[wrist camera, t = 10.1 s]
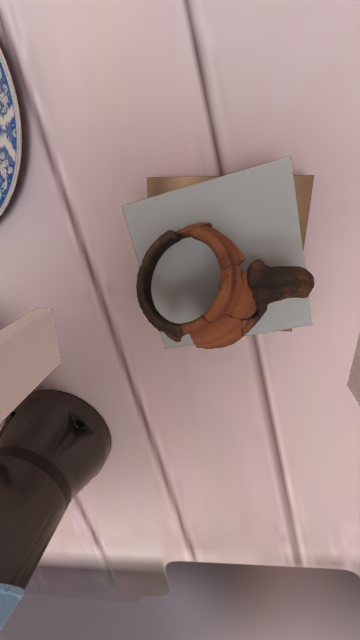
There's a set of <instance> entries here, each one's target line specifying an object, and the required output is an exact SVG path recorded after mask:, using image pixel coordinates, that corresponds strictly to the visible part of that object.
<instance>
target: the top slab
mask: <svg viewBox="0 0 360 640" xmlns="http://www.w3.org/2000/svg"><path fill="white" fill-rule="evenodd" d="M121 207H122V210H123V213H124V216H125V220H126V223H127V226H128V229H129V233H130V236H131V239H132V242H133V246H134V249H135V252H136V255H137V259H138V262H139V265H140V266H141V265H142V260H143V258H144V255H145V253H146V251H147V250H148V249H149V247H150V246H151V245H152V244H153V243H154V242H155V241H156V240H157V238H158V237H160V236H161V235H162V234H164V233H165V232H166V231H168V230H173V231H175V232H176V231H178V230H180V229H183V228H184V227H186V226H189V225H192V224H195V223H201V222H205V223H211V225H212V227H213V228H214V229H216V230H218V231H219V232H221V233H222V234H223V235H225V236H226V237H227V238H229V239H230V240H231V241H232V242H233V243H234V244H235V246H236V247H238V249H239V250H240V251H241V252H242V254H243V255H244V256H245V258H246V260H245V261H244V262H243V263H241V264H240V267H241V269H242V271H244V272H245V274H246V275H247V269H248V267H249V265H250V264H251V263H252V262H254V261H255V260H257V259H260V260H262V261H263V262H264V263H265V264H266V265H267V266H299V267H303V268H305V264H304V256H303V248H302V240H301V233H300V225H299V217H298V209H297V201H296V193H295V185H294V177H293V169H292V161H291V156H289V157H286V158H282V159H279V160H276V161H272V162H269V163H265V164H262V165H259V166H255V167H252V168H248V169H245V170H242V171H238V172H235V173H232V174H228V175H225V176H221V177H218V178H215V179H211V180H208V181H204V182H201V183H198V184H194V185H191V186H188V187H184V188H181V189H177V190H174V191H171V192H167V193H164V194H160V195H157V196H154V197H150V198H147V199H144V200H140V201H137V202H133V203H130V204H127V205H123V206H121ZM220 275H221V269H220V266H219V263H218V260H217V258H216V256H215V254H214V252H213V251H212V250H211V248H210V247H209V246H208V245H206V244H205V243H203V242H201V241H198V240H195V239H193V238H192V237H189V238H184V239H182V240H180V241H179V242H177V243H175V244H174V245H172V246H171V247H170V248H168V249H167V250H166V251H165V252H164V254H163V255H162V256H161V258H160V259H159V261H158V263H157V265H156V268H155V270H154V273H153V277H152V282H151V293H152V298H153V302H154V305H155V307H156V309H157V310H158V312H159V313H160V314H161V315H162V316H163V317H164V318H165V319H167V320H169V321H171V322H173V323H181V324H182V323H186V322H191V321H193V320H195V319H197V318H198V317H200V316H202V315H203V314H204V313H205V312H206V311H207V310H208V309H209V308H210V306H211V305H212V303H213V301H214V300H215V297H216V295H217V293H218V290H219V285H220V279H221V276H220ZM308 325H312V320H311V312H310V304H309V296H308V297H307V298H287V299H283V300H281V301H276V302H273V303H269V304H268V306H267V311H266V312H265V313H264V315H263V316H262V317H261V319H260V320H259V321H258V322H257V324H256V325H255V326H254V327H253V328H252V329H251V330H250V331H249V332H248V333H247V334H246V335H244V336H247V335H253V334H259V333H266V332H272V331H278V330H284V329H290V328H296V327H302V326H308ZM160 333H161V336H162V339H163V343H164V346H165V349H168V348H174V347H180V346H187V345H193V344H194V343H193V340H192V339H191V336H190V334H186V335H184V336H183V337H182V338H181V341H180V342H175V341H173V340H171V339H170V338H168V337H167V336H166V334H165V333H164V332H163V331H162V332H161V331H160Z"/></svg>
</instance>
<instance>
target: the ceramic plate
mask: <svg viewBox="0 0 360 640" xmlns="http://www.w3.org/2000/svg"><path fill="white" fill-rule="evenodd" d="M21 153H22V131H21V119H20V111H19V105H18V100H17V95H16V91H15V87H14V84H13V80H12V76H11V74H10V71H9V68H8V65H7V62H6V59H5V57H4V55H3V52H2V50H1V48H0V216H1V215H2V214H3V212H4V210H5V209H6V207H7V205H8V204H9V201H10V199H11V197H12V194H13V192H14V189H15V187H16V182H17V178H18V174H19V170H20V163H21Z"/></svg>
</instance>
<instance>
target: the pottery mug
mask: <svg viewBox="0 0 360 640" xmlns="http://www.w3.org/2000/svg"><path fill="white" fill-rule="evenodd" d="M189 237H192V238H193V239H195V240H198V241H201V242H203V243H205V244H206V245H208V246H209V247H210V248H211V250H212V251H213V252H214V254H215V256H216V258H217V260H218V263H219V266H220V269H221V275H220V276H221V279H220V285H219V290H218V293H217V295H216V297H215V300H214V301H213V303H212V305H211V306H210V308H209V309H208V310H207V311H206V312H205V313H204V314H203V315H202V316H200V317H198V318H197V319H195V320H193V321H191V322H186V323H182V324H181V323H173V322H171V321H169V320H167V319H165V318H164V317H163V316H162V315H161V314H160V313H159V312H158V310H157V309H156V307H155V305H154V302H153V298H152V293H151V282H152V277H153V273H154V270H155V268H156V265H157V263H158V261H159V259H160V258H161V256H162V255H163V254H164V252H165V251H166V250H167V249H168V248H170V247H171V246H172V245H174V244H175V243H177V242H179V241H180V240H182V239H184V238H189ZM245 260H246V258H245V256H244V255H243V254H242V252H241V251H240V250H239V249H238V247H236V246H235V244H234V243H233V242H232V241H231V240H230V239H229V238H227V237H226V236H225V235H223V234H222V233H221V232H219V231H218V230H216V229H214V228H213V227H212V225H211V223H205V222H201V223H195V224H192V225H189V226H186V227H184V228H183V229H180V230H178V231H176V232H175V231H173V230H168V231H166V232H165V233H164V234H162V235H161V236H160V237H158V238H157V240H156V241H155V242H154V243H153V244H152V245H151V246H150V247H149V249H148V250H147V251H146V253H145V255H144V258H143V260H142V265H141V266H140V268H139V272H138V278H137V286H136V287H137V297H138V301H139V304H140V307H141V309H142V310H143V313H144V314H145V316H146V317H147V319H148V321H149V322H150V323H152V325H153V326H154V327H155V328H157V329H158V331H161V332H162V331H163V332H164V333H165V334H166V336H167V337H168V338H170V339H171V340H173V341H175V342H180V341H181V338H182V337H183V336H184V335H186V334H190V336H191V339H192V340H193V343H194V344H195V345H196V347H197V348H205V349H213V348H221V347H225V346H229V345H231V344H233V343H235V342H237V341H238V340H239V339H241V338H242V337H243V336H244V335H246V334H247V333H248V332H249V331H250V330H251V329H252V328H253V327H254V326H255V325H256V324H257V322H258V321H259V320H260V319H261V317H262V316H263V315H264V313H265V312H266V311H267V306H268V304H269V303H273V302H276V301H281V300H283V299H287V298H307V297H308V296H309V294H310V292H311V290H312V288H313V287H314V277H313V275H312V274H311V273H310V272H308V271H307V269H305V268H303V267H299V266H267V265H266V264H265V263H264V262H263V261H262V260H260V259H257V260H255V261H254V262H252V263H251V264H250V265H249V267H248V269H247V275H246V274H245V272H244V271H242V269H241V267H240V264H241V263H243V262H244V261H245Z"/></svg>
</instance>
